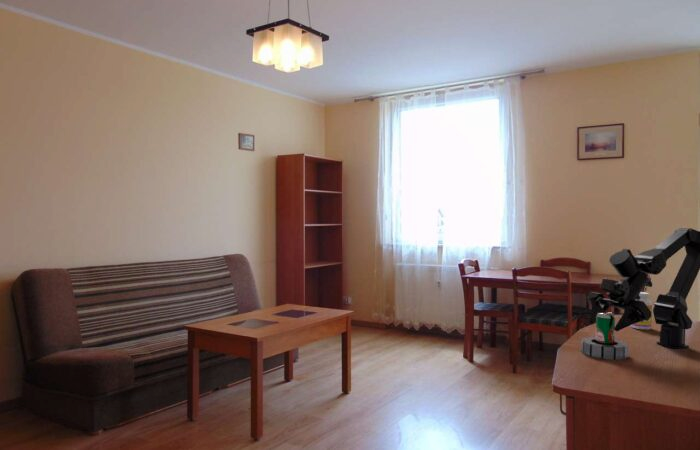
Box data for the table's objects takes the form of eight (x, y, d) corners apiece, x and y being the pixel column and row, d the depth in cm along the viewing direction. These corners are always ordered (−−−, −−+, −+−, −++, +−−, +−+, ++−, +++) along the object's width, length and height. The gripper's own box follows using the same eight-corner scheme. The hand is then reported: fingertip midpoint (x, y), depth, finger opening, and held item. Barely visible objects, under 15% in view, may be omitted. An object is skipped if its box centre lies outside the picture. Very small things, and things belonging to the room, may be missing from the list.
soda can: (591, 351, 156) (592, 311, 155) (608, 351, 156) (609, 311, 155) (600, 356, 150) (601, 315, 150) (617, 356, 151) (618, 315, 150)
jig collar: (606, 347, 160) (606, 336, 160) (636, 358, 149) (637, 346, 149) (572, 349, 157) (573, 338, 157) (601, 360, 146) (601, 348, 146)
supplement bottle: (654, 330, 185) (655, 294, 184) (633, 329, 186) (634, 293, 185) (647, 326, 191) (648, 291, 191) (627, 325, 192) (628, 290, 192)
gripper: (591, 266, 163) (563, 303, 159) (645, 272, 145) (615, 314, 142) (610, 289, 166) (582, 326, 162) (664, 299, 148) (635, 341, 145)
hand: (602, 326), depth 152 cm, fingers open, 9 cm apart
